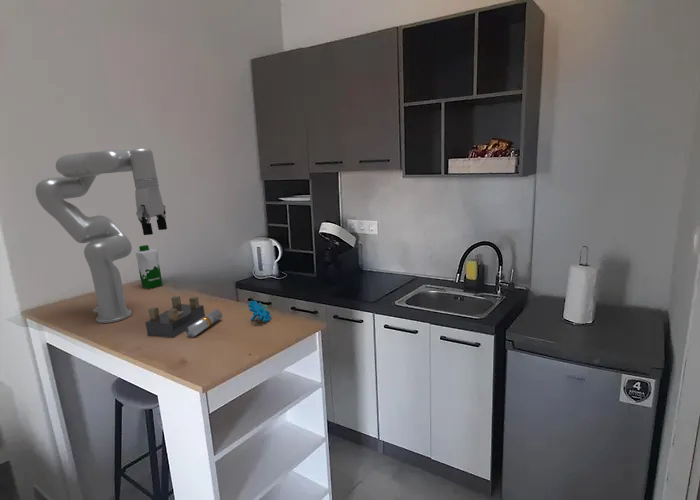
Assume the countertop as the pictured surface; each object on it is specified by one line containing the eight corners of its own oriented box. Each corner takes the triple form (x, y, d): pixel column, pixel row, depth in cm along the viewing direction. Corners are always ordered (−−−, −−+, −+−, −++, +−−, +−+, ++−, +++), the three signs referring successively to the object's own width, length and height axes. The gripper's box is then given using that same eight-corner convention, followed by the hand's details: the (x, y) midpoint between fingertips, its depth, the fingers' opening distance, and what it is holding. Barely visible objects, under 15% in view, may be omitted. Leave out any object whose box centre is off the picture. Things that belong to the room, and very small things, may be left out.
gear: (265, 322, 154) (245, 302, 155) (255, 333, 155) (235, 313, 156) (277, 314, 165) (259, 296, 166) (267, 325, 166) (249, 306, 167)
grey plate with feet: (147, 335, 153) (143, 311, 151) (180, 316, 170) (177, 294, 168) (174, 337, 150) (169, 312, 148) (205, 317, 167) (201, 295, 165)
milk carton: (157, 282, 219) (150, 243, 215) (165, 285, 213) (158, 245, 208) (139, 287, 213) (132, 247, 208) (147, 290, 207) (140, 249, 202)
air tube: (196, 337, 149) (194, 326, 148) (186, 337, 150) (184, 326, 149) (223, 319, 164) (221, 309, 163) (213, 319, 165) (211, 309, 164)
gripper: (150, 183, 162) (158, 228, 166) (121, 187, 146) (132, 237, 149) (169, 181, 162) (177, 227, 165) (142, 185, 145) (152, 236, 149)
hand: (155, 232), depth 157 cm, fingers open, 9 cm apart
